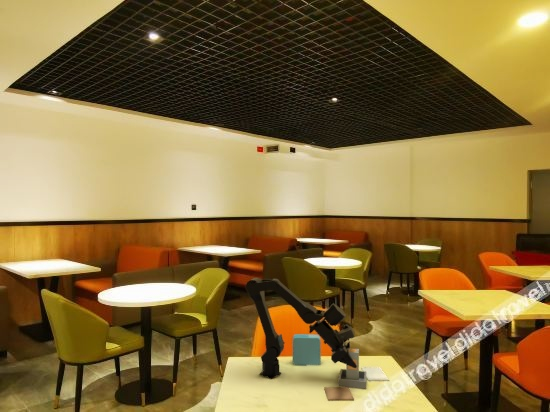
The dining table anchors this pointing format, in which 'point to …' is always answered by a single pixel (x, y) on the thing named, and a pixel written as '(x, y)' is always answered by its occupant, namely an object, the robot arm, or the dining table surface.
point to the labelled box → (350, 371)
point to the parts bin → (352, 383)
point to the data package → (306, 349)
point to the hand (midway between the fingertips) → (356, 364)
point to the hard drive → (375, 374)
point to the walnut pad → (338, 394)
